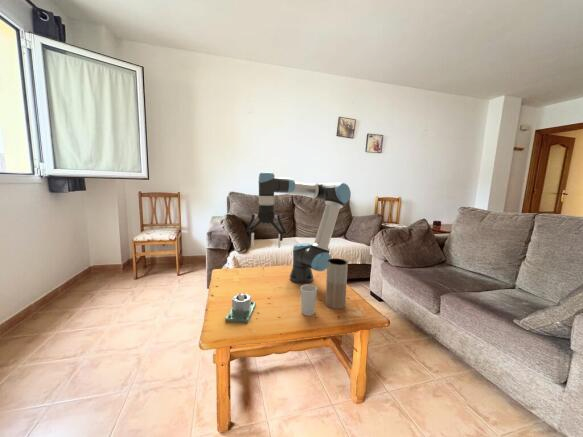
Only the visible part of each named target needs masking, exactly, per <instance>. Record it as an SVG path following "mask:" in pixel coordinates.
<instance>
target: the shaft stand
mask: <svg viewBox="0 0 583 437" xmlns="http://www.w3.org/2000/svg"><path fill="white" fill-rule="evenodd" d="M237 294H238V300H244V299H245V294H246V293H244V292H241V293H237ZM256 303H257V302H256V301H251V309H250V312H248V313H245V314H235V313H234V312H233V311H232V307H231V308H230V310H229V312H228V313H227V315H226V317H225V318H224V321H230V322H229V323H240V322H241V323H242V324H243V323H244V324H248V323H249V321H250V319H251V317H252V315H253V313H254V310H255V308H256V306H257V304H256Z"/></svg>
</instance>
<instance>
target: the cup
mask: <svg viewBox="0 0 583 437" xmlns="http://www.w3.org/2000/svg"><path fill="white" fill-rule="evenodd" d="M299 290H300V306H301V307H300V308H301V309H300V310H301V314H302V315H304V316H314V315H315V312H316V309H315V308H316V304H317V303H316V301H317V294H318V287H317V286H316V285H313V284H303V285H301V286H300V289H299Z"/></svg>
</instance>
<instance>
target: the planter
mask: <svg viewBox="0 0 583 437" xmlns="http://www.w3.org/2000/svg"><path fill="white" fill-rule="evenodd" d="M348 264H349V263H348V261H347V260H346V259H343V258H338V257H337V258H331V259H329V260H328V261H327V269H326V284H325V285H326V286H325V305H326V307H328V308H330V309H334V310H339V309H340V310H341V309H343V308H345V307H346V301H347V287H348V286H347V281H348Z"/></svg>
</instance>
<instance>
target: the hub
mask: <svg viewBox="0 0 583 437" xmlns="http://www.w3.org/2000/svg"><path fill="white" fill-rule="evenodd" d="M238 294H239V293H237V294H235V295H233V296H232V298H231V308H232V311H233V312H234V313H235V314H245V313H248V312H250V309H251V302H252V296H251V295H250V294H248V293H244V294H245V299H244V300H238Z"/></svg>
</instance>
